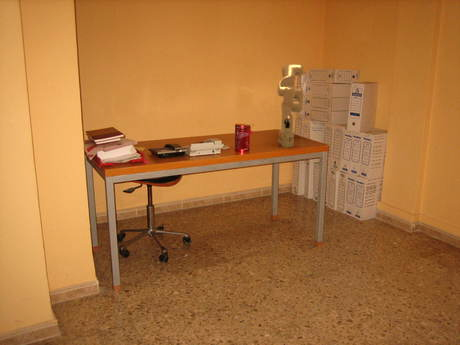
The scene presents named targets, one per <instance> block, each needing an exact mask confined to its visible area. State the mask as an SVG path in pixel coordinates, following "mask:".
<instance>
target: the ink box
mask: <svg viewBox="0 0 460 345" xmlns="http://www.w3.org/2000/svg"><path fill="white" fill-rule="evenodd" d="M294 141H295V131H290V132H283V131H281V130H280V131H278V145H277V146H278V147H281V148H287V149H288V148H292V147H294V143H295V142H294Z"/></svg>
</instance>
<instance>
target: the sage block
mask: <svg viewBox="0 0 460 345" xmlns="http://www.w3.org/2000/svg"><path fill="white" fill-rule="evenodd" d="M285 125H286V124H283V132H290V128H285ZM290 126H291V125H290Z"/></svg>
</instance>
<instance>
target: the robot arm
mask: <svg viewBox="0 0 460 345" xmlns="http://www.w3.org/2000/svg"><path fill="white" fill-rule="evenodd" d="M281 74H282V75H281V76H282V78H281V80H279V82H278V84H277V95H278V97H282V98H283V100H282V101H281V126H280V127H281V128H280V131H283V124H286V125H285V128H290V131H292V132H294V131H293V129H294V128H293V127H294V115H293V113H301V112H302V111H303V108H304V107H303V106H304V102H303V101H304V90H303V88H301V87H295V86H296V85H295V84H296V83H295V82H296V77H302V76H303V74H304V66H303V64H300V63H298V64H297V63H290V64H289V63H287V65H283V66H282V68H281ZM290 125H291V126H290Z"/></svg>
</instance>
